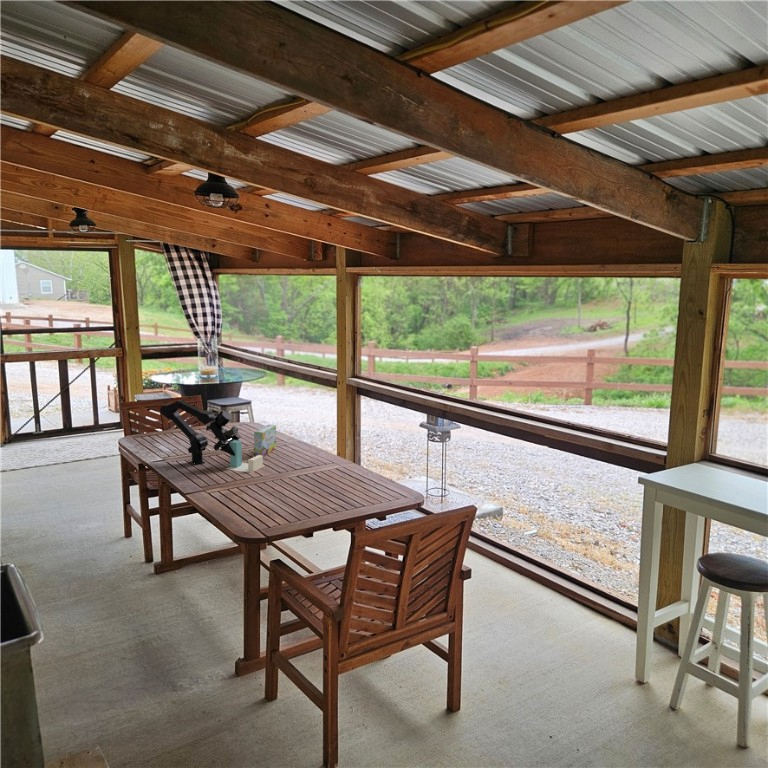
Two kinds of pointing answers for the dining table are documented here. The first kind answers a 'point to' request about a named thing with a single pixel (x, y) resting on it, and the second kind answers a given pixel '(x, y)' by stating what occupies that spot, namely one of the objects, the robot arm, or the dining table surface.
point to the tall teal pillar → (236, 453)
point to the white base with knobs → (250, 465)
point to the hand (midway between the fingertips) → (237, 454)
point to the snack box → (264, 440)
